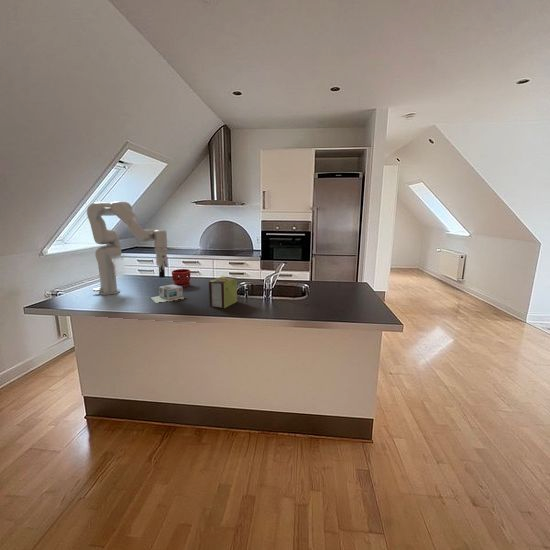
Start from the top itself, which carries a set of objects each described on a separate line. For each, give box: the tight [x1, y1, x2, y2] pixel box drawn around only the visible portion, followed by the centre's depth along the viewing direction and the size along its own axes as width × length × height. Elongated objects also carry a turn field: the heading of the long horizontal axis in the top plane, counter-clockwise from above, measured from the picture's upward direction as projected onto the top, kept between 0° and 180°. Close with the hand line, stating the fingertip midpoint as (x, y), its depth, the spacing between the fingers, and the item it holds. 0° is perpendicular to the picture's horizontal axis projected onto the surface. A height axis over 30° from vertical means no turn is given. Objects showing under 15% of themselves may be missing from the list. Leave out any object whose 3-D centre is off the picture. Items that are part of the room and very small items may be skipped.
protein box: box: [208, 275, 238, 309], centre depth 177 cm, size 10×15×16 cm
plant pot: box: [171, 268, 191, 288], centre depth 219 cm, size 13×13×12 cm
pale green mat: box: [150, 295, 185, 304], centre depth 188 cm, size 18×14×1 cm
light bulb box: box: [158, 283, 184, 299], centre depth 190 cm, size 11×7×11 cm
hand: (162, 277), depth 192 cm, fingers closed
